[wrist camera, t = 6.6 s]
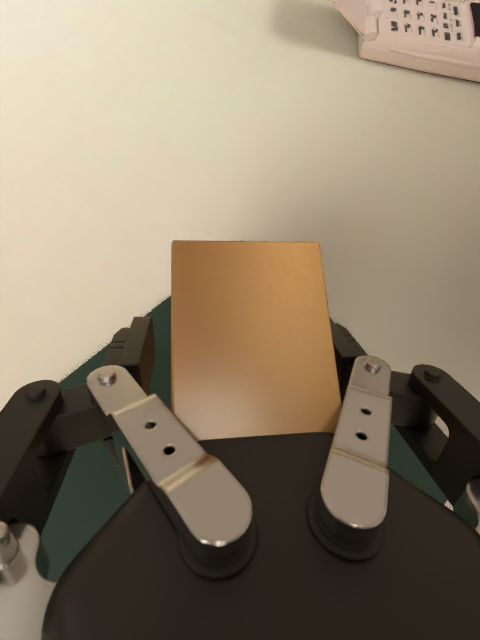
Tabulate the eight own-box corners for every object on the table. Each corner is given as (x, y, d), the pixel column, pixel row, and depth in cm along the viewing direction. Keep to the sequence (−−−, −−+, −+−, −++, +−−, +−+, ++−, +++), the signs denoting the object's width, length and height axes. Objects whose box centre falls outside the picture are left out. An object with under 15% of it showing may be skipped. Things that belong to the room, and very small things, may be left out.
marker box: (260, 325, 20) (320, 239, 10) (268, 427, 18) (349, 445, 8) (185, 327, 19) (170, 238, 9) (186, 432, 18) (169, 458, 8)
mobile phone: (293, -96, 24) (593, -26, 26) (276, 0, 30) (523, 51, 32) (289, -44, 22) (609, 26, 24) (272, 48, 28) (532, 98, 30)
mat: (240, 243, 22) (243, 233, 21) (462, 468, 20) (479, 472, 18) (-76, 491, 16) (-98, 498, 15) (187, 861, 14) (186, 907, 12)
